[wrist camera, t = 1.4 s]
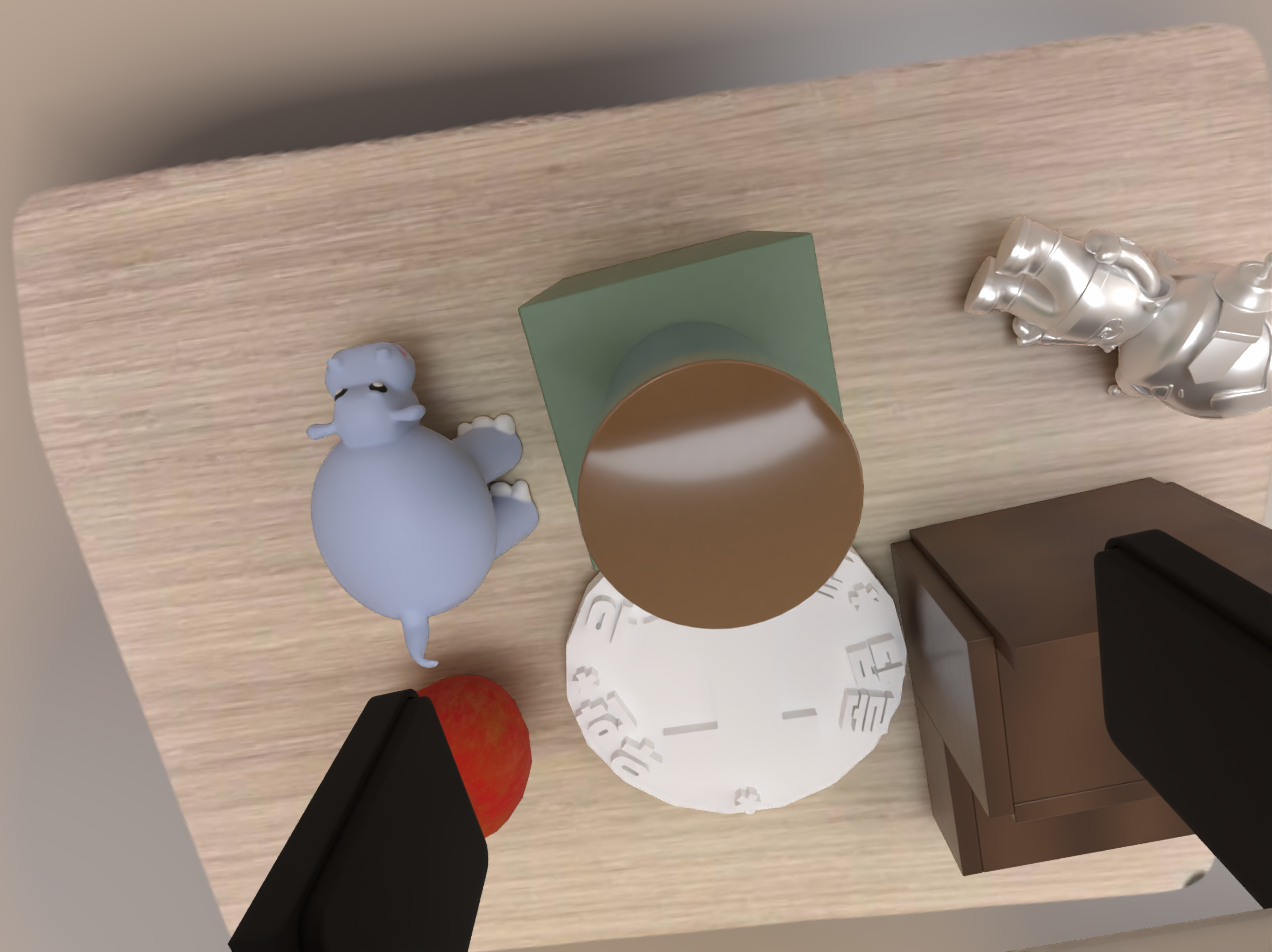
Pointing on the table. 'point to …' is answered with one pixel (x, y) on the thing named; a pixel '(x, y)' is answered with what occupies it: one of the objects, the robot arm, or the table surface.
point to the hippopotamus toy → (410, 495)
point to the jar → (716, 481)
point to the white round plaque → (738, 693)
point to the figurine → (1139, 315)
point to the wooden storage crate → (1039, 669)
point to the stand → (675, 321)
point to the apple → (484, 744)
